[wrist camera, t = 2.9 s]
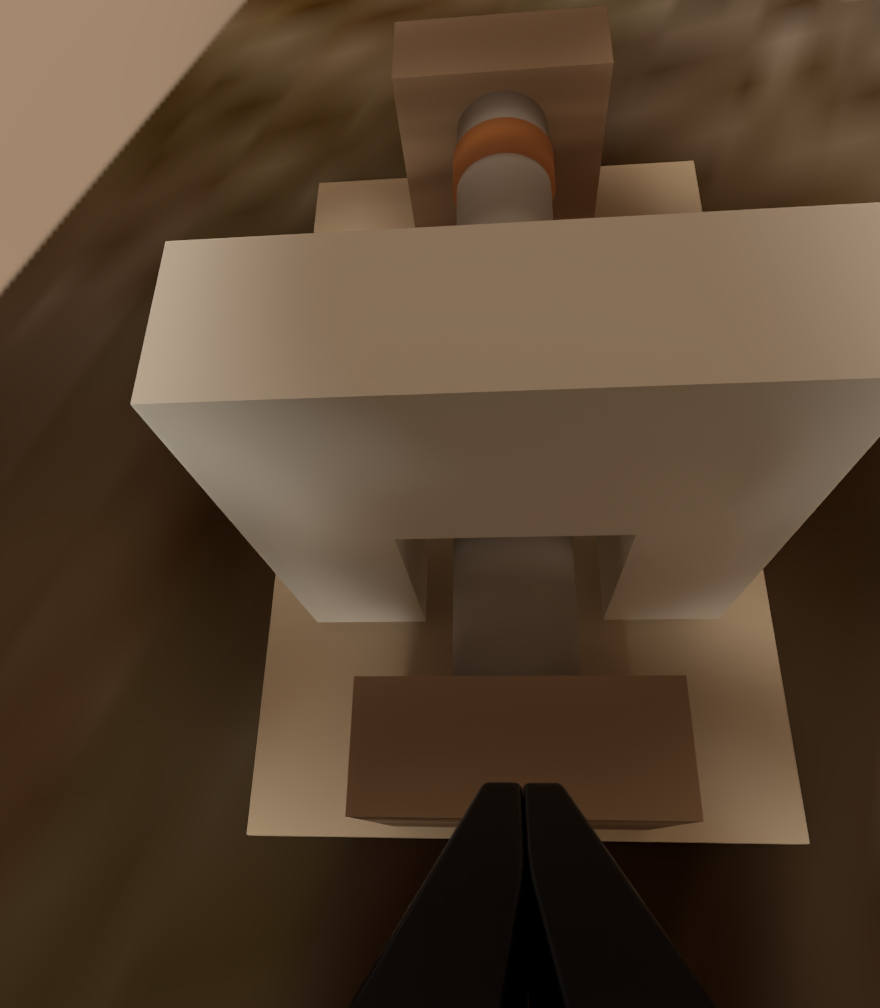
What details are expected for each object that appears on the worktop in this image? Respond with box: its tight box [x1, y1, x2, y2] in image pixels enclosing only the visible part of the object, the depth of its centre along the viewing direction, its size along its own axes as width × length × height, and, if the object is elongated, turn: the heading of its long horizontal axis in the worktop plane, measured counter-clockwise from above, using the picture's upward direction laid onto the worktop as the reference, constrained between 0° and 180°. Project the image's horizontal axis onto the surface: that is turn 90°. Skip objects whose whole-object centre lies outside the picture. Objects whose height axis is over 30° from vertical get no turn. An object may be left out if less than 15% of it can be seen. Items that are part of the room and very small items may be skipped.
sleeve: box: [130, 202, 880, 622], centre depth 13 cm, size 3×9×9 cm, turn 89°
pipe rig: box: [247, 5, 810, 844], centre depth 17 cm, size 18×11×6 cm, turn 179°
